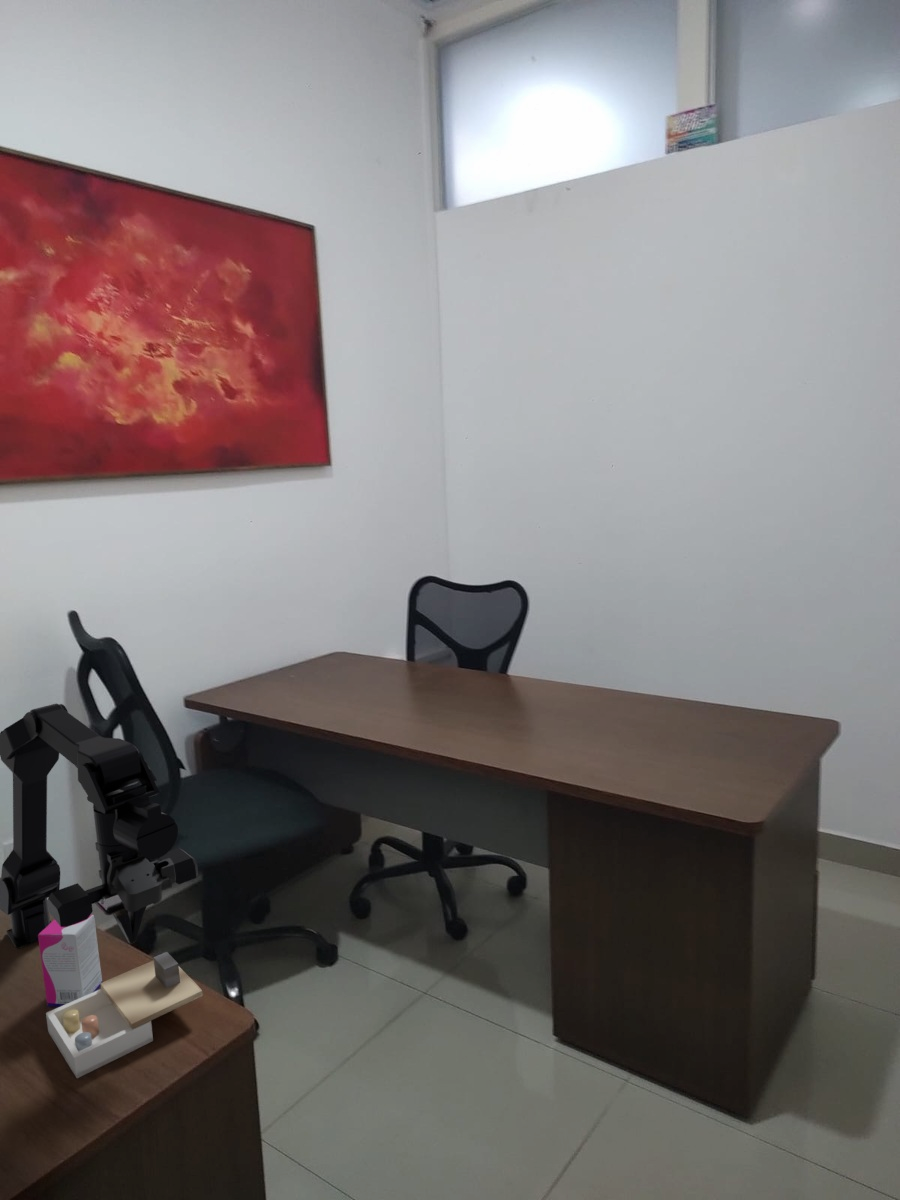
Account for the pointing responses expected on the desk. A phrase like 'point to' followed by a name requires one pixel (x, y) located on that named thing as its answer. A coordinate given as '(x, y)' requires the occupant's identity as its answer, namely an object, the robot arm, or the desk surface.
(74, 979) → the supplement box
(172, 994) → the lid
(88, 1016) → the white storage tray
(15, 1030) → the desk surface
